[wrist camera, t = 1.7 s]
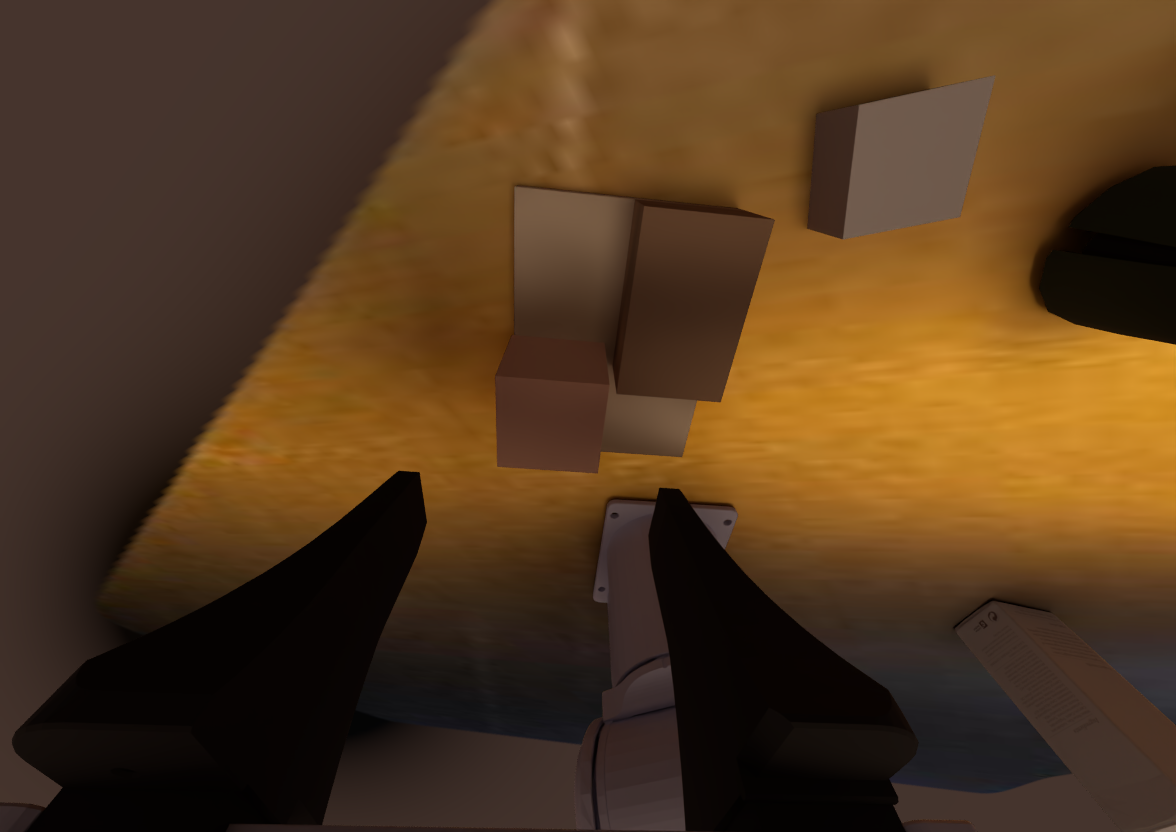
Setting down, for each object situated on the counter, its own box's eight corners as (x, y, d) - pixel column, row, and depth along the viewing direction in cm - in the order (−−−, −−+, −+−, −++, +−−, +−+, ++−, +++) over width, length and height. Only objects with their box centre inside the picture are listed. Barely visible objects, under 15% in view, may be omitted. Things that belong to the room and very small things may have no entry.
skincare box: (949, 629, 33) (1117, 843, 23) (993, 594, 31) (1201, 815, 20) (1011, 641, 34) (1200, 852, 24) (1058, 608, 32) (1289, 826, 21)
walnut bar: (704, 373, 20) (720, 402, 18) (612, 365, 20) (616, 394, 17) (746, 211, 16) (774, 219, 14) (634, 199, 16) (644, 206, 14)
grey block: (904, 208, 17) (959, 216, 15) (805, 228, 18) (843, 239, 15) (927, 89, 15) (995, 75, 13) (814, 114, 16) (859, 105, 13)
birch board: (678, 446, 23) (682, 457, 23) (516, 434, 23) (514, 445, 22) (738, 208, 17) (746, 211, 16) (518, 185, 17) (514, 186, 16)
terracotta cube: (595, 420, 21) (597, 473, 18) (512, 414, 21) (497, 466, 17) (604, 342, 19) (609, 384, 15) (511, 334, 19) (495, 375, 15)
